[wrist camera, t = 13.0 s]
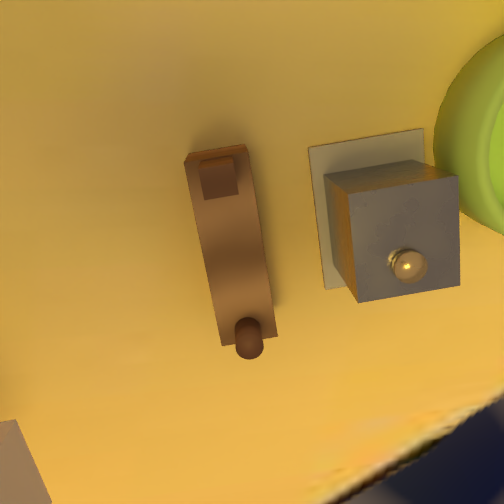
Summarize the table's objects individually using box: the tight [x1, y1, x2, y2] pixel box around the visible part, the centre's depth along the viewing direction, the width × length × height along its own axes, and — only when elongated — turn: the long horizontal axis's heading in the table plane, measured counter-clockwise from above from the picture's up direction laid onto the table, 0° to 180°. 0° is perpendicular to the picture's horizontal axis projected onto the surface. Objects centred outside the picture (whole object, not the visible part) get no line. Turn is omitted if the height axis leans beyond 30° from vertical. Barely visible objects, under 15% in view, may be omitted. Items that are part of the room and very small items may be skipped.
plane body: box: [184, 144, 278, 359], centre depth 32 cm, size 13×4×8 cm, turn 9°
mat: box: [308, 128, 425, 290], centre depth 35 cm, size 11×8×1 cm
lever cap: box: [323, 159, 460, 303], centre depth 31 cm, size 7×6×8 cm
